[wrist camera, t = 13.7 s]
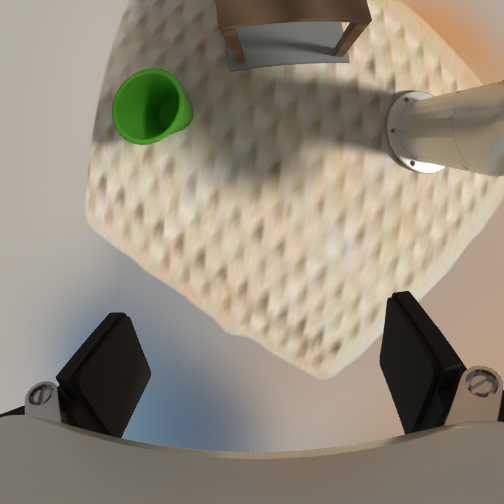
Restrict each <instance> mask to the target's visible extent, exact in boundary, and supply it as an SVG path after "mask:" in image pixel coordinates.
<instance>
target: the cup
mask: <svg viewBox="0 0 504 504" xmlns="http://www.w3.org/2000/svg"><path fill="white" fill-rule="evenodd" d="M112 117H113V122H114V125H115V127H116V129H117V131H118V132H119V134H120V135H121V136H122V137H123V138H124V139H126V140H127V141H129V142H131V143H134V144H139V145H145V144H152V143H155V142H158V141H160V140H161V139H163V138H165V137H166V136H167V135H169V134H172V133H175V132H178V131H181V130H183V129H184V128H186V127H187V126H188V125H189V123H190V122H191V120H192V118H193V108H192V105H191V104H190V102H189V101H188V99H187V98H186V96H185V95H184V92H183V89H182V86H181V84H180V83H179V81H178V80H177V78H176V77H175V76H173V75H172V74H171V73H169V72H167V71H164V70H162V69H146V70H142V71H140V72H138V73H135V74H134V75H132V76H131V77H129V78H128V79H127V80H126V81H125V82H124V83H123V84H122V85H121V87H120V88H119V90H118V92H117V93H116V96H115V98H114V101H113V107H112Z"/></svg>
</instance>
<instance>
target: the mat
mask: <svg viewBox="0 0 504 504" xmlns="http://www.w3.org/2000/svg"><path fill="white" fill-rule="evenodd" d="M235 30H236V33H237V35H238V38H239V41H240V44H241V47H242V49H243V52H244V55H245V61H246V63H241V64H237V63H236V60H235V58H234V56H233V54H232V52H231V50H230V48H229V46H228V44H227V42H226V47H227V54H228V62H229V69H230V72H231V71H237V70H244V69H251V68H259V67H268V66H279V65H291V64H308V63H349V62H350V61H349V56H348V51H347V52H346V54H345V55H344V56H343V57H335V54H334V48H335V46H336V45H337V43H338V41H339V40H340V38H341V36H342V35H343V28H342V24H341V22H289V23H275V24H264V25H255V26H247V27H240V28H235Z"/></svg>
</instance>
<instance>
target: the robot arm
mask: <svg viewBox="0 0 504 504" xmlns="http://www.w3.org/2000/svg"><path fill="white" fill-rule="evenodd" d="M404 100H405V101H404ZM386 129H387V136H388V141H389V143H390V146H391V148H392V150H393V152H394V153H395V155H396V156H397V158H398V159H399V160H400V161H401V162H402V163H403V164H404V165H405V166H407V167H408V168H410V169H412V170H414V171H417V172H421V173H434V172H437V171H439V170H441V169H443V168H444V167H451V168H456V169H461V170H465V171H470V172H475V173H479V174H483V175H488V176H494V177H498V176H504V80H502V81H500V82H497V83H492V84H488V85H484V86H480V87H475V88H470V89H466V90H461V91H456V92H452V93H448V94H443V95H439V96H435V97H434V96H433V95H430V94H428V93H425V92H420V91H414V92H410V93H406V94H404V95H402V96H400V97H399V98H398V99H396V101H395V102H394V103H393V104H392V106H391V108H390V110H389V113H388V116H387V123H386ZM391 129H392V130H393V132H391ZM410 161H411V164H410ZM380 366H381V369H382V371H383V374H384V377H385V379H386V382H387V384H388V387H389V390H390V392H391V395H392V398H393V401H394V403H395V406H396V409H397V412H398V415H399V417H400V420H401V423H402V426H403V429H404V432H405V435H402V436H397V437H393V438H388V439H383V440H378V441H372V442H366V443H360V444H354V445H348V446H340V447H333V448H324V449H315V450H303V451H288V452H287V451H286V452H221V451H205V450H193V449H184V448H176V447H168V446H161V445H155V444H148V443H142V442H136V441H131V440H127V439H122V438H121V437H122V435H123V433H124V430H125V428H126V427H127V425H128V422H129V420H130V418H131V416H132V414H133V412H134V409H135V408H136V406H137V404H138V402H139V400H140V398H141V395H142V394H143V392H144V389H145V387H146V385H147V383H148V381H149V379H150V377H151V370H150V367H149V365H148V363H147V360H146V358H145V355H144V353H143V350H142V348H141V345H140V343H139V340H138V338H137V335H136V332H135V329H134V327H133V324H132V321H131V319H130V317H128V316H127V315H126V314H125V313H110V314H108V316H107V317H106V318H105V319H104V320H103V321H102V322H101V323H100V325H99V326H98V327H97V328H96V329H95V331H94V332H93V333H92V334H91V335H90V336H89V337H88V339H87V340H86V341H85V342H84V343H83V344H82V346H81V347H80V348H79V349H78V350H77V352H76V353H75V354H74V355H73V356H72V358H71V359H70V360H69V361H68V363H67V364H66V365H65V366H64V367H63V369H62V370H61V371H60V372H59V374H58V375H57V376H56V379H57V381H58V382H59V384H60V385H59V386H58V387H57V386H56V385H55V384H54V383H52V382H47V381H46V382H41V383H38V384H36V385H35V386H33V387H32V388H31V389H30V390H29V391H28V393H27V395H26V398H25V405H24V406H22V407H19V408H16V409H14V410H11V411H9V412H6V413H3V414H0V504H504V390H503V381H502V379H501V377H500V376H499V374H498V373H497V372H496V371H494V370H493V369H491V368H488V367H485V366H473V367H471V368H469V369H467V368H466V367H465V366H464V364H463V362H462V361H461V360H460V358H459V357H458V355H457V354H456V352H455V351H454V350H453V348H452V347H451V345H450V344H449V342H448V341H447V340H446V338H445V337H444V335H443V334H442V333H441V331H440V330H439V329H438V327H437V326H436V325H435V324H434V323H433V321H432V320H431V319H430V317H429V316H428V315H427V313H426V312H425V311H424V309H423V308H422V307H421V306H420V304H419V303H418V302H417V300H416V299H415V298H414V297H413V295H412V294H411V293H410V292H409V291H403V292H396V293H393V294H392V297H391V298H388V300H387V307H386V316H385V324H384V332H383V339H382V346H381V353H380Z"/></svg>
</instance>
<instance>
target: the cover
mask: <svg viewBox="0 0 504 504" xmlns="http://www.w3.org/2000/svg"><path fill="white" fill-rule="evenodd" d="M216 8H217V16H218V24H219V28H220V30H221V32H222V34H223V36H224V38H225V40H226V42H227V44H228V46H229V48H230V50H231V52H232V54H233V56H234V58H235V60H236V63H237V64H241V63H246V61H245V55H244V52H243V49H242V47H241V44H240V41H239V38H238V35H237V33H236V30H235V28H240V27H247V26H255V25H264V24H275V23H289V22H350V24H349V25H348V27H347V28H346V30H345V32H344V33H343V35H342V36H341V38H340V40H339V41H338V43H337V45H336V46H335V48H334V54H335V57H343V56H344V55H345V54H346V52H347V51H348V50H349V48H350V47H351V46H352V45H353V43H354V42H355V41H356V39H357V38H358V37H359V36H360V34H361V33H362V32H363V31H364V29H365V28H366V27H367V26H368V24H369V23H370V22H371V21H372V19H371V15H370V11H369V8H368V4H367V1H366V0H216Z"/></svg>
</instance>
